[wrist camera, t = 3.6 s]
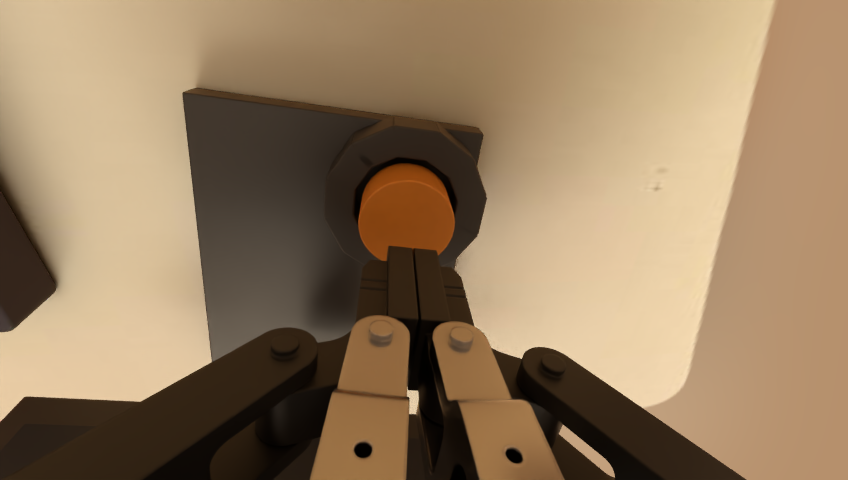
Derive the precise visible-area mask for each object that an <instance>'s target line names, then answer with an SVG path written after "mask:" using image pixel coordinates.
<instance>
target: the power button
mask: <svg viewBox="0 0 848 480" xmlns="http://www.w3.org/2000/svg"><path fill="white" fill-rule="evenodd" d="M454 226H455V219H454V213H453V210H452V206H451V203H450V200H449V197H448V194H447V191H446V188H445V186H444V184H443V183H442V181H441V180H440V179H439V177H438V176H437V175H436V174H434V173H433V172H432V171H430V170H429V169H427V168H425V167H423V166H420V165H417V164H411V163H399V164H394V165H391V166H388V167H386V168H384V169H382V170H380V171H379V172H377V173H376V174H375V175H374V176H373V177H372V178H371V179H370V180H369V182H368V183H367V185H366V187H365V189H364V192H363V195H362V201H361V207H360V213H359V219H358V228H359V233H360V237H361V239H362V241H363V243H364V245H365V246H366V248H367V249H368V250H369V251H370V252H371V253H372V254H373V255H374V256H375V257H377V258H378V259H380V260H381V261H386V259H387V252H388V246H399V247H409V248H412V250H413V248H419V249H429V250H437V253H438V255H439V254H440V253H441V252H442V251H443V250H444V249H445V248H446V247H447V245H448V244H449V242H450V240H451V238H452V235H453V232H454Z"/></svg>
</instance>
